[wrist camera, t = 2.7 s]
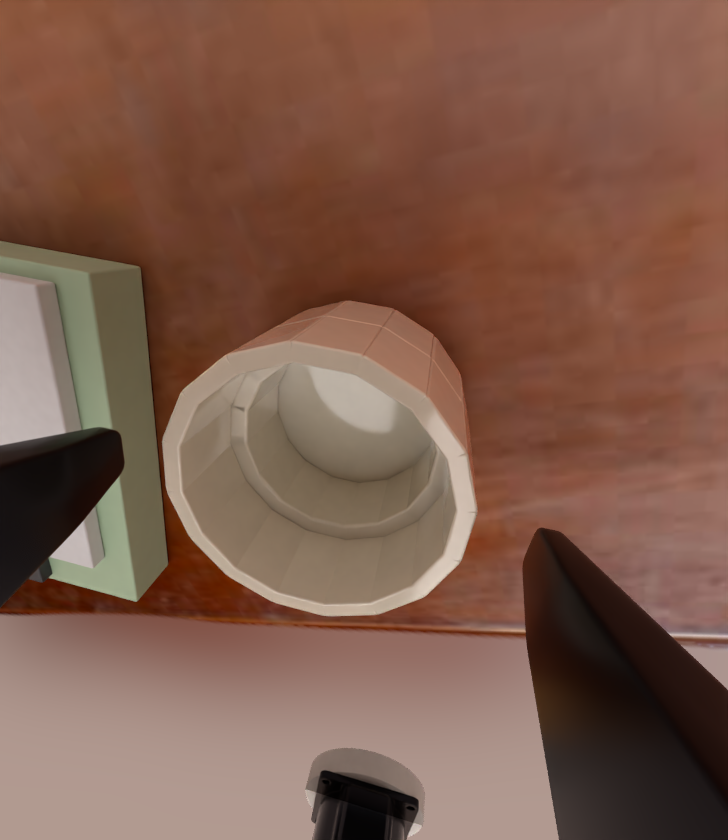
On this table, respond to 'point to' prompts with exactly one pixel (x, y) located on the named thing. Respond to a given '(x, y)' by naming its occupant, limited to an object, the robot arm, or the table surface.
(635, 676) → the robot arm
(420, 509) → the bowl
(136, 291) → the scale
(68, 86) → the table surface
